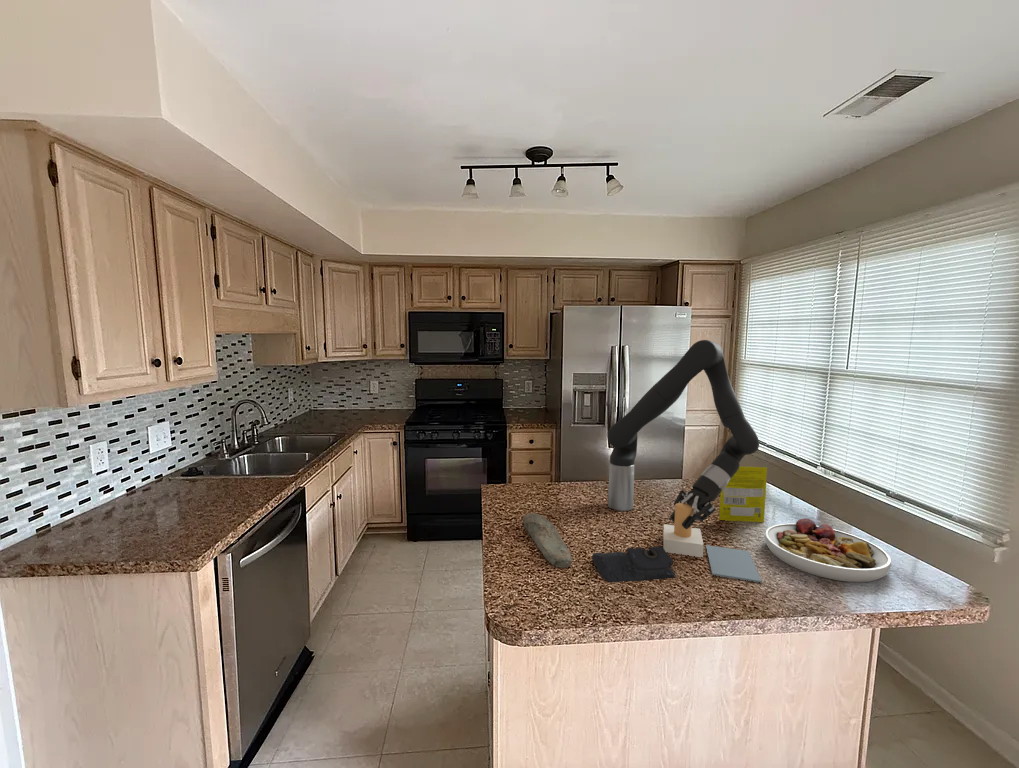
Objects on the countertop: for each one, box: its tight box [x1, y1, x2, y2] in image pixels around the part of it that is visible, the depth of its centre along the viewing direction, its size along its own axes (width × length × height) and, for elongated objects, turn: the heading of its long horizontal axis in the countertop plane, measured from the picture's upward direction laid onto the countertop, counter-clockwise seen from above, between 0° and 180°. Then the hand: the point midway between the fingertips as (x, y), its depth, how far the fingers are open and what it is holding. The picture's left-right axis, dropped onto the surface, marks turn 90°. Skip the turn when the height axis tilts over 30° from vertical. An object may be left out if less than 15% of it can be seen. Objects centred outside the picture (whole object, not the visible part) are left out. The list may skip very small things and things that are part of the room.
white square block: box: [662, 523, 704, 558], centre depth 138 cm, size 11×12×4 cm
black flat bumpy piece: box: [591, 545, 676, 583], centre depth 125 cm, size 15×22×5 cm
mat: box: [705, 544, 763, 584], centre depth 127 cm, size 12×18×1 cm, turn 161°
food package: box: [718, 466, 768, 523], centre depth 157 cm, size 15×1×20 cm, turn 84°
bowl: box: [764, 518, 892, 583], centre depth 130 cm, size 30×30×8 cm
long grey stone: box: [522, 512, 573, 569], centre depth 141 cm, size 35×5×10 cm
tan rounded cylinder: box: [673, 502, 693, 537], centre depth 137 cm, size 5×5×9 cm
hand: (678, 523), depth 137 cm, fingers closed on tan rounded cylinder, 5 cm apart
